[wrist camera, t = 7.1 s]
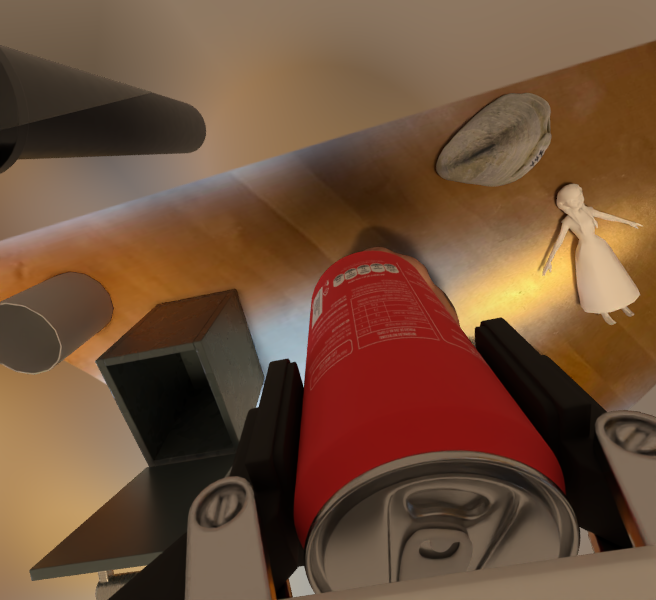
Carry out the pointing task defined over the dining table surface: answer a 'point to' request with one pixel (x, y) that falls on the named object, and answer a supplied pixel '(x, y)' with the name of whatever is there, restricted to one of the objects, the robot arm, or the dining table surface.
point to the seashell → (498, 142)
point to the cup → (51, 321)
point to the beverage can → (413, 442)
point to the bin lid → (134, 524)
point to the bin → (186, 378)
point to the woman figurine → (594, 258)
